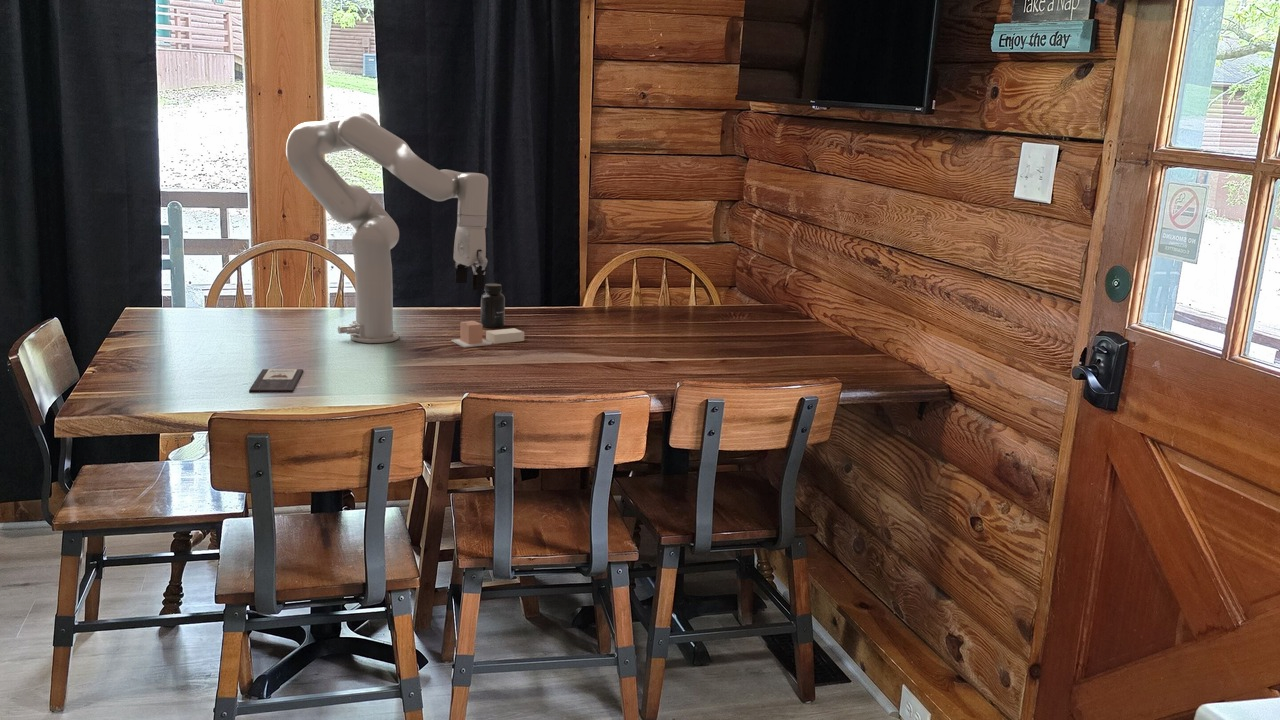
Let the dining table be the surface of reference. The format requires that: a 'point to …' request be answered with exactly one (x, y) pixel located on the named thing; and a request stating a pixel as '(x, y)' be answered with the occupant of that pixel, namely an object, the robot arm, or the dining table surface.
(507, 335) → the cream rectangular block
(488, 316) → the supplement bottle
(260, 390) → the chocolate bar
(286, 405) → the dining table surface
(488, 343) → the mat
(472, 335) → the tan wooden block
